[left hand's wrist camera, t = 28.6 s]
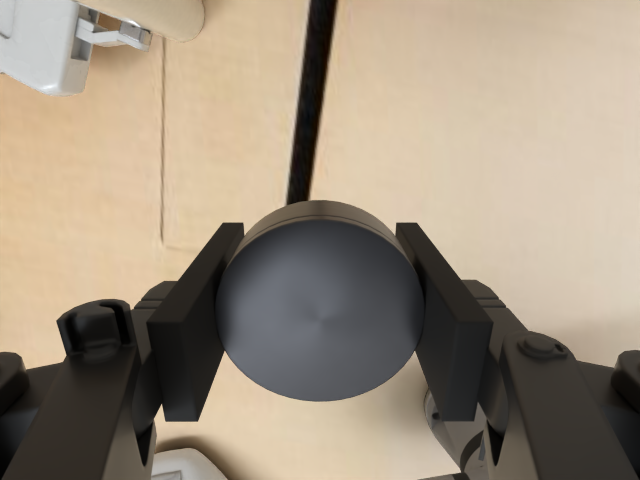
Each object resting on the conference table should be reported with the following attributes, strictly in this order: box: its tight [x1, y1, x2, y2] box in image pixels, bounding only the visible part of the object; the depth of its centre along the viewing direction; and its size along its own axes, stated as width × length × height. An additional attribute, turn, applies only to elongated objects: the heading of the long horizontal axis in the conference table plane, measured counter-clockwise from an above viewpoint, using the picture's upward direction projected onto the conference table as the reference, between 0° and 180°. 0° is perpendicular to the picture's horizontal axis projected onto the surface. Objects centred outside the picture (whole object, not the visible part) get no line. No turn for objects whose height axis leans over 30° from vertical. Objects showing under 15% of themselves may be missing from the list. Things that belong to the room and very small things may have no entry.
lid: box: [214, 200, 425, 401], centre depth 11 cm, size 6×6×2 cm
